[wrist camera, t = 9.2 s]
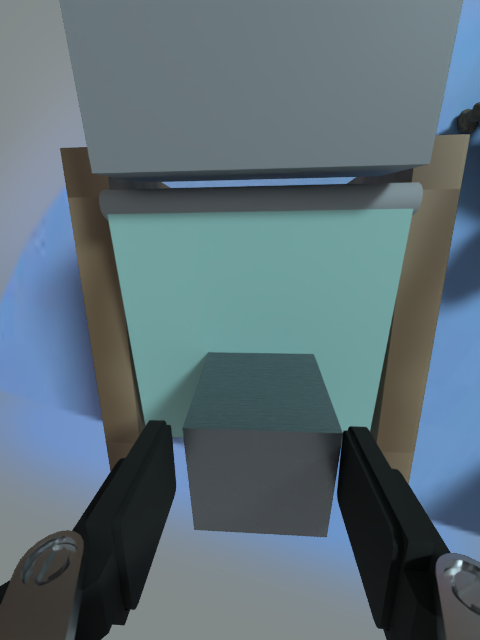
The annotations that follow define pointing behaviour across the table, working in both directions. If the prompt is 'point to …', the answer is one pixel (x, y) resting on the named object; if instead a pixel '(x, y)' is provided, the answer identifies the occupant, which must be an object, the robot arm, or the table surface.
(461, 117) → the rhino figurine
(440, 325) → the table surface
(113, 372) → the frame
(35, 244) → the table surface
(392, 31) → the grey and green slab
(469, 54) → the table surface
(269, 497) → the block
